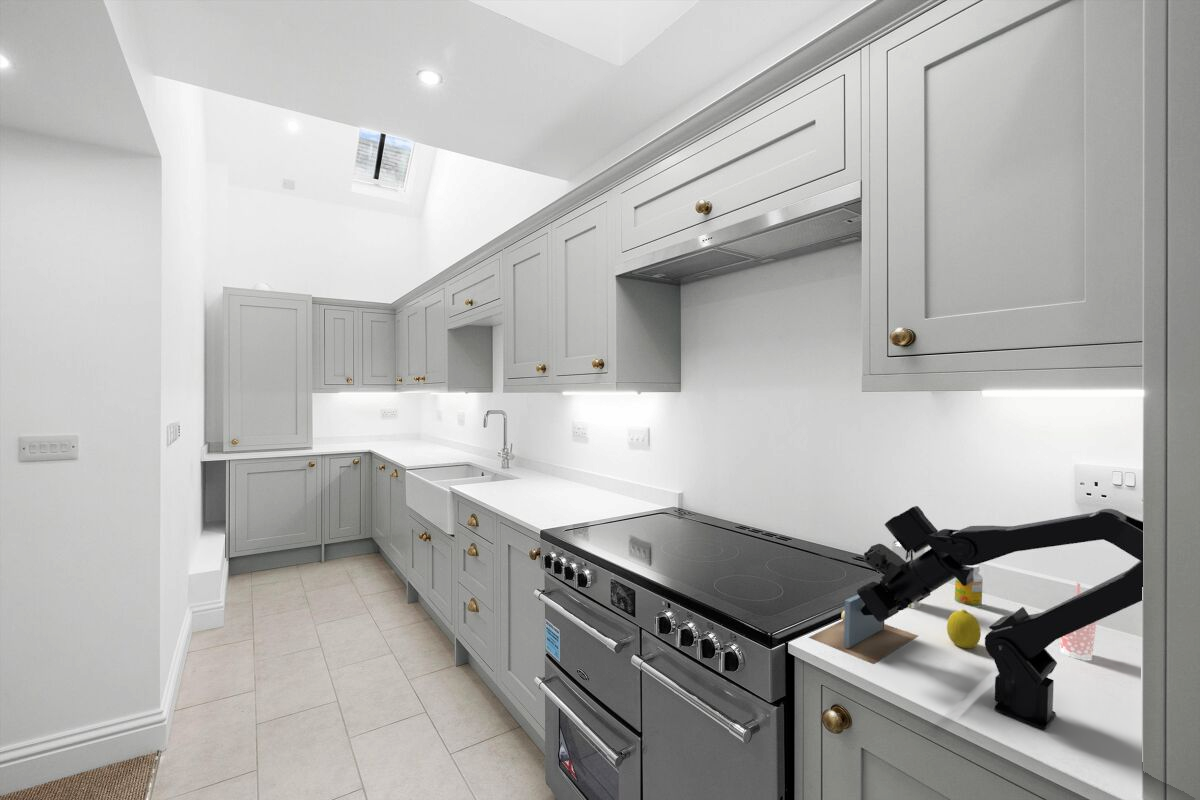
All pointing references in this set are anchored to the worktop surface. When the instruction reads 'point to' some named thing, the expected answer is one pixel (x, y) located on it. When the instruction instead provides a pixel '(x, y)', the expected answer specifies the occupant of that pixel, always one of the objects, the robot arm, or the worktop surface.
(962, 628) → the lemon
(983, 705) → the worktop surface
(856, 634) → the door
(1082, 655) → the beverage cup
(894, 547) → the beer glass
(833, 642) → the brown flat rectangle
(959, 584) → the supplement bottle
